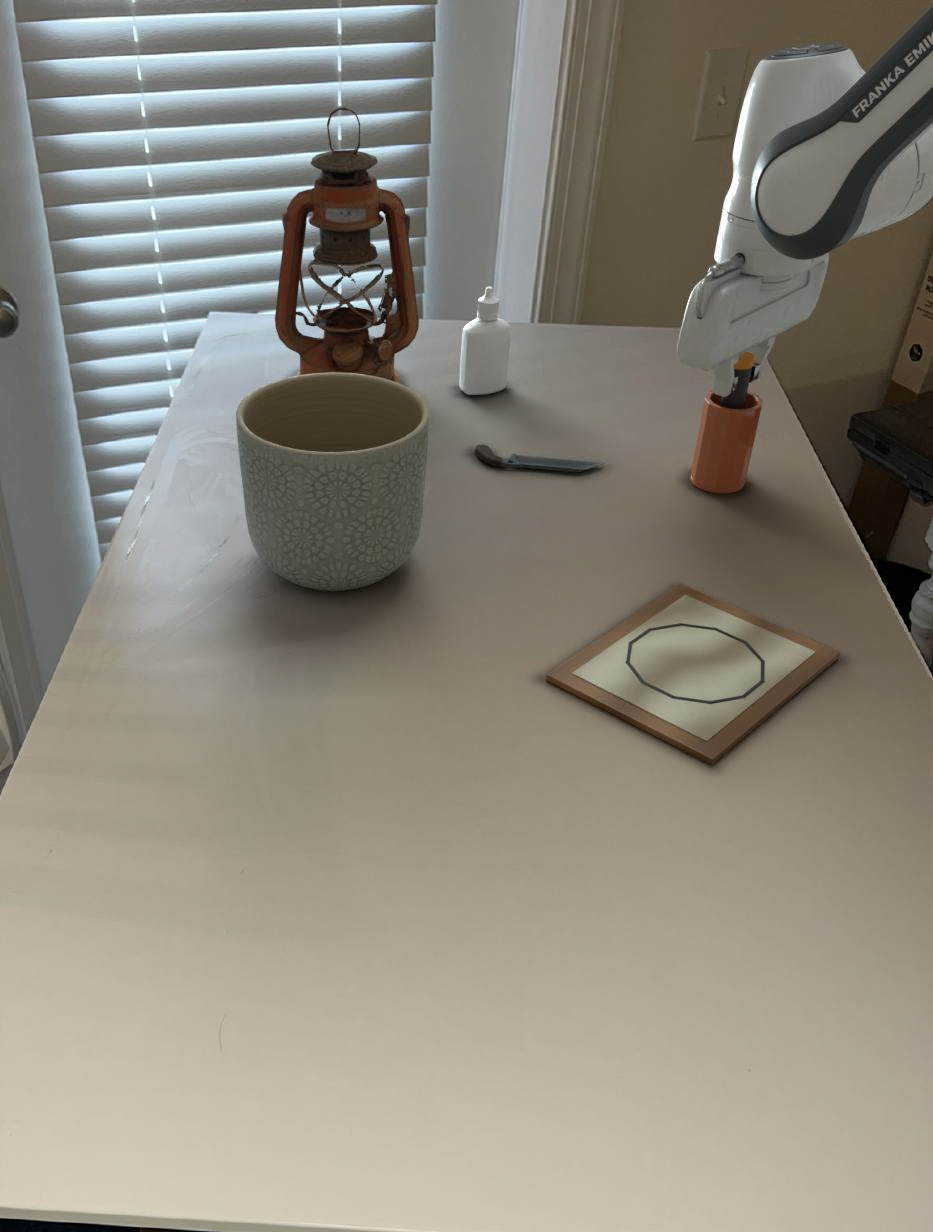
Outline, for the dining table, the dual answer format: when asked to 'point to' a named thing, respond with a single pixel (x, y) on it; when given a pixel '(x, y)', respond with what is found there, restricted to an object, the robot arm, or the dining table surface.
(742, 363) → the marker
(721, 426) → the pen cup
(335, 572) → the planter
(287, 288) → the lantern
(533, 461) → the knife
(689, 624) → the sketch board
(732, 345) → the robot arm
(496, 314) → the eye dropper bottle
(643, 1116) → the dining table surface
